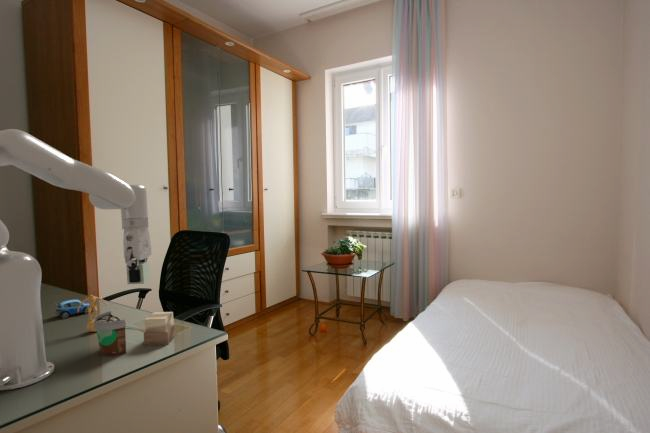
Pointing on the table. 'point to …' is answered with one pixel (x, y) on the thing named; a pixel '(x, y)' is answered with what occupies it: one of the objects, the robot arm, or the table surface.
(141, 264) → the green block
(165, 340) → the walnut block
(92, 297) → the figurine
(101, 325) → the food container
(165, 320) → the birch block
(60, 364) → the table surface
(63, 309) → the toy car
